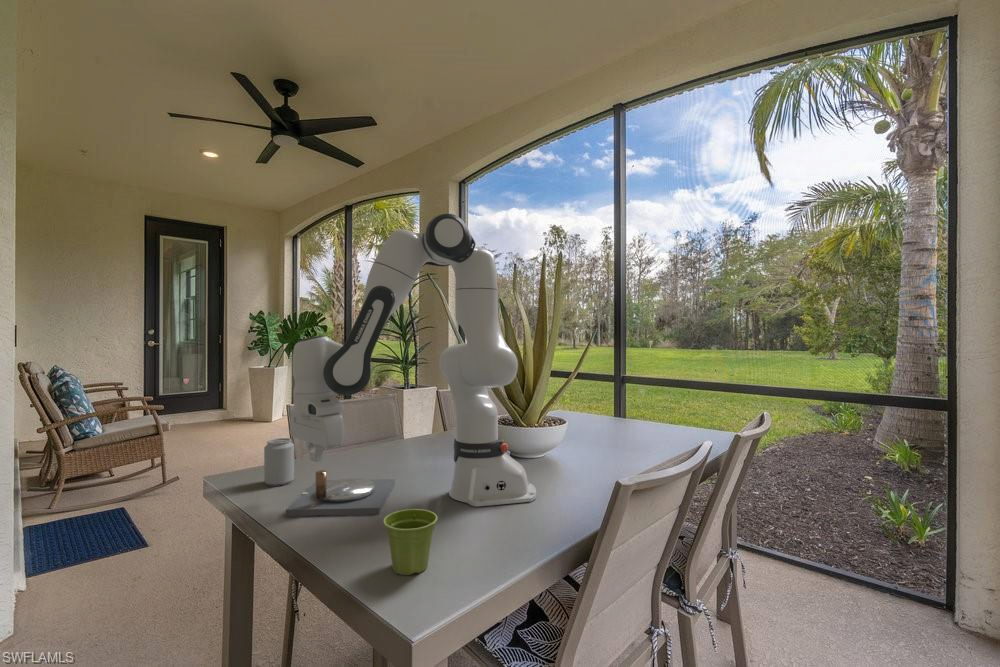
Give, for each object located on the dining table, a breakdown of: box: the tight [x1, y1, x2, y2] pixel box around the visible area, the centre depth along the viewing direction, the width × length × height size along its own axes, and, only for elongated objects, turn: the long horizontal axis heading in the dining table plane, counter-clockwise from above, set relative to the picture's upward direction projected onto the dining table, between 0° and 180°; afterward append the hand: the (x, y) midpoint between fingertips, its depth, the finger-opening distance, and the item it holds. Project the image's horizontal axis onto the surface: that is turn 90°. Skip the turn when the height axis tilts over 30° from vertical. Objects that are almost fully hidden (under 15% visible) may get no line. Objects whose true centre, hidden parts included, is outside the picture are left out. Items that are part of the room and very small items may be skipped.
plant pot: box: [383, 508, 438, 576], centre depth 82 cm, size 9×9×9 cm
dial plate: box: [285, 478, 396, 517], centre depth 116 cm, size 21×21×2 cm
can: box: [263, 437, 295, 487], centre depth 128 cm, size 8×8×12 cm
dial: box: [315, 469, 374, 502], centre depth 115 cm, size 16×14×7 cm
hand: (315, 460), depth 111 cm, fingers closed
